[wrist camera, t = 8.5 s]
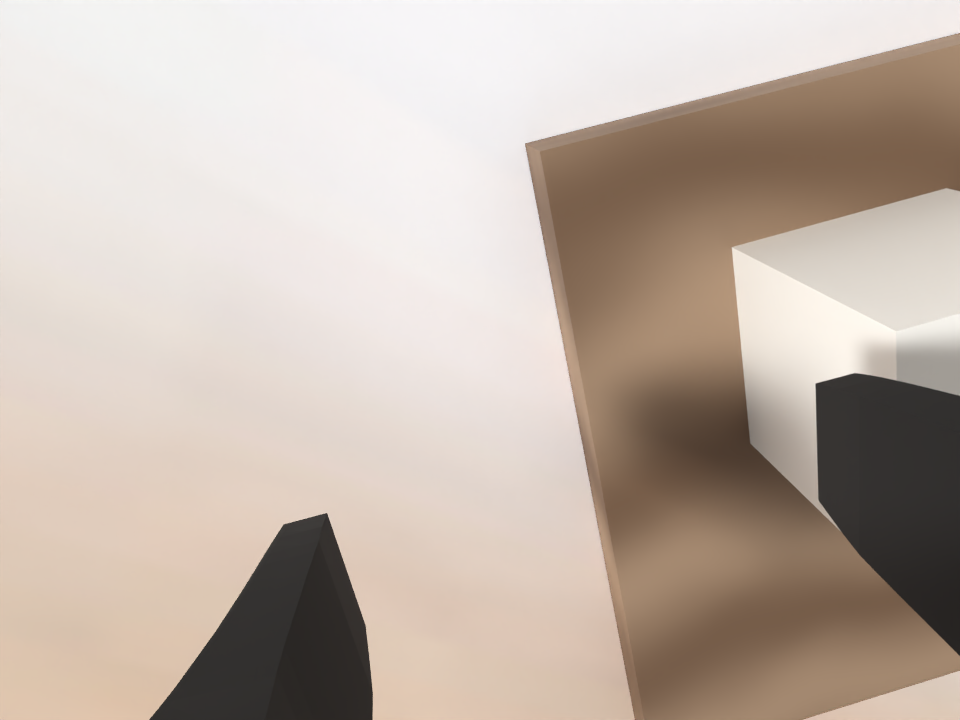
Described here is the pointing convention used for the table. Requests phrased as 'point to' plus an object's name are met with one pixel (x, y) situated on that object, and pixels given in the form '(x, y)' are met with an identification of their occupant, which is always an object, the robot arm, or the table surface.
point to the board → (729, 380)
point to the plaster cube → (846, 317)
